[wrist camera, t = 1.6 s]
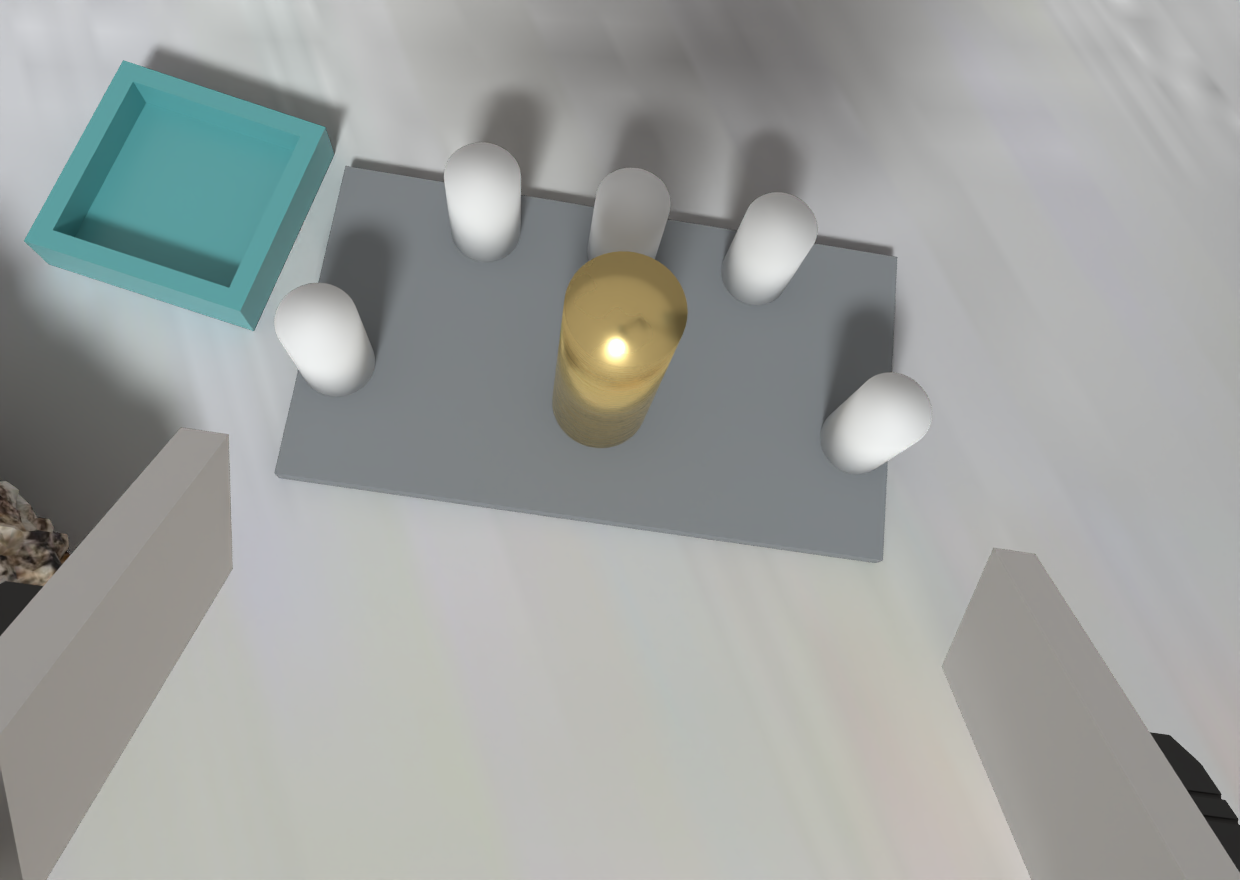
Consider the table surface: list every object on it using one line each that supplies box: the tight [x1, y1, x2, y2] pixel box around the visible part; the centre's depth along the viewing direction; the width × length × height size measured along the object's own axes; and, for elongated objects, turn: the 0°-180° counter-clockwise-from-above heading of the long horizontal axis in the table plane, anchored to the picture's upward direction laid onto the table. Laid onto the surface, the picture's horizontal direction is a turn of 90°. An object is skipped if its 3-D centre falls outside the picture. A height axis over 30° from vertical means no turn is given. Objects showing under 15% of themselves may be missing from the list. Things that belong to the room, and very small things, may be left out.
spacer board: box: [274, 142, 932, 563], centre depth 39 cm, size 25×14×5 cm, turn 83°
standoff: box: [552, 251, 688, 448], centre depth 36 cm, size 4×4×10 cm
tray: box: [24, 60, 334, 331], centre depth 41 cm, size 9×9×2 cm
